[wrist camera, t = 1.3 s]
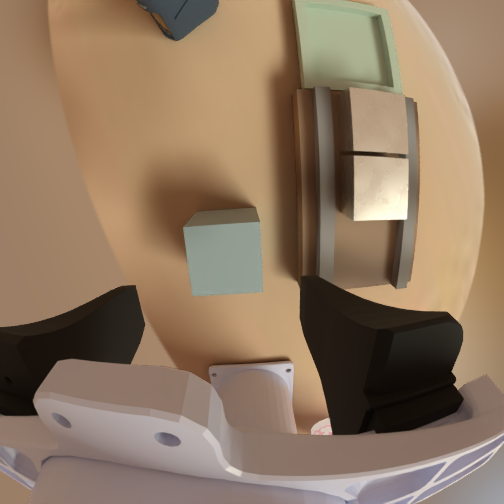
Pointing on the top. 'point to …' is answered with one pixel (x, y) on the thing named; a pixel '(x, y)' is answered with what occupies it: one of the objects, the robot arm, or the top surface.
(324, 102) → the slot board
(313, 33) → the chip tray
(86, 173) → the top surface
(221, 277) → the sage green cube
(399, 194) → the chip
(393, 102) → the chip
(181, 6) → the vaping device
